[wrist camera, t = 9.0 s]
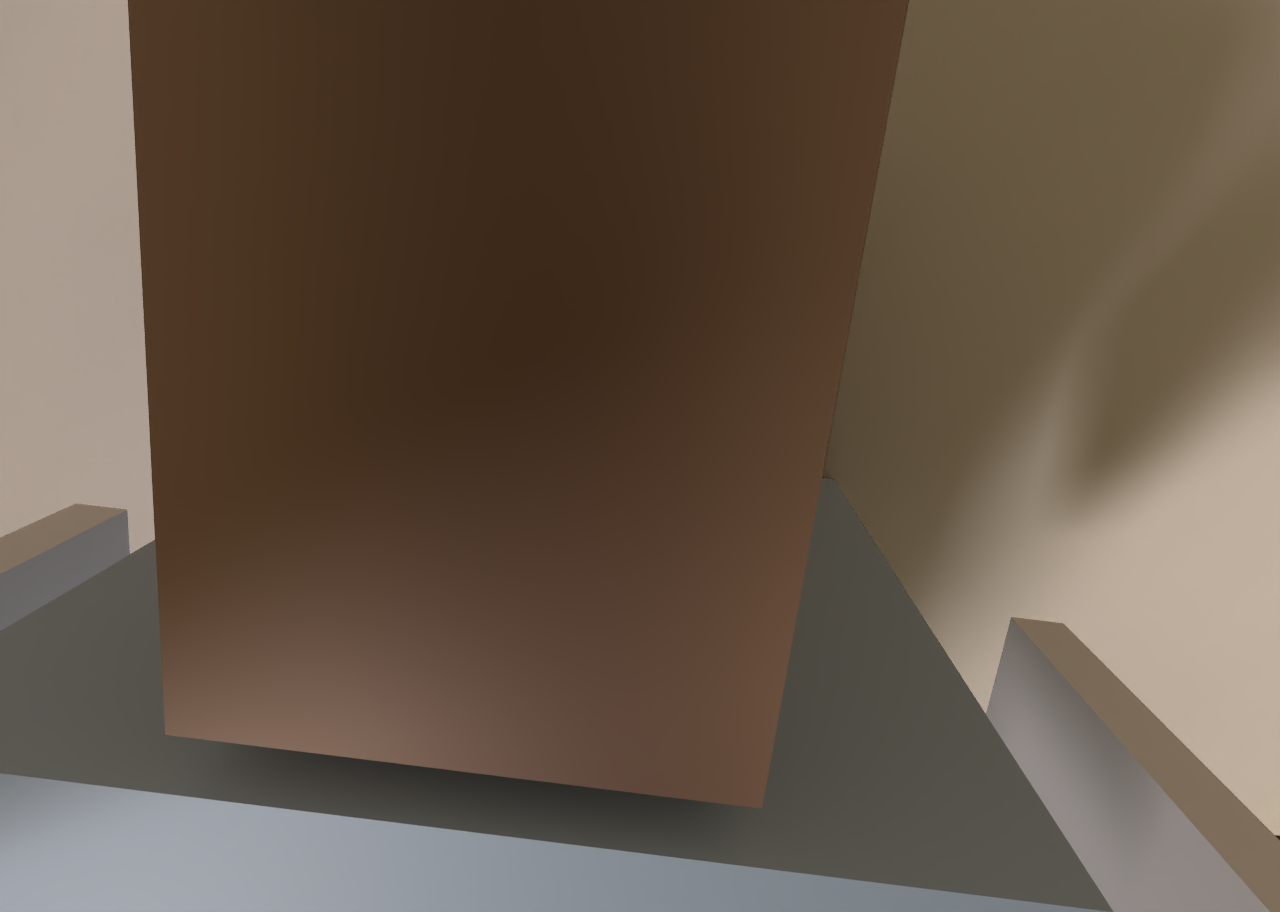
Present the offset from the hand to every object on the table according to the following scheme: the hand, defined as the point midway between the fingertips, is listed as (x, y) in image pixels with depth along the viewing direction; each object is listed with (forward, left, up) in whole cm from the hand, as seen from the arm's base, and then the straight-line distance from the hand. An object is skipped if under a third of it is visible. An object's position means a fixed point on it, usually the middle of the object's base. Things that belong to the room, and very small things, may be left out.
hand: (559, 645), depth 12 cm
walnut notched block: (0, 0, -4) cm, 4 cm away
